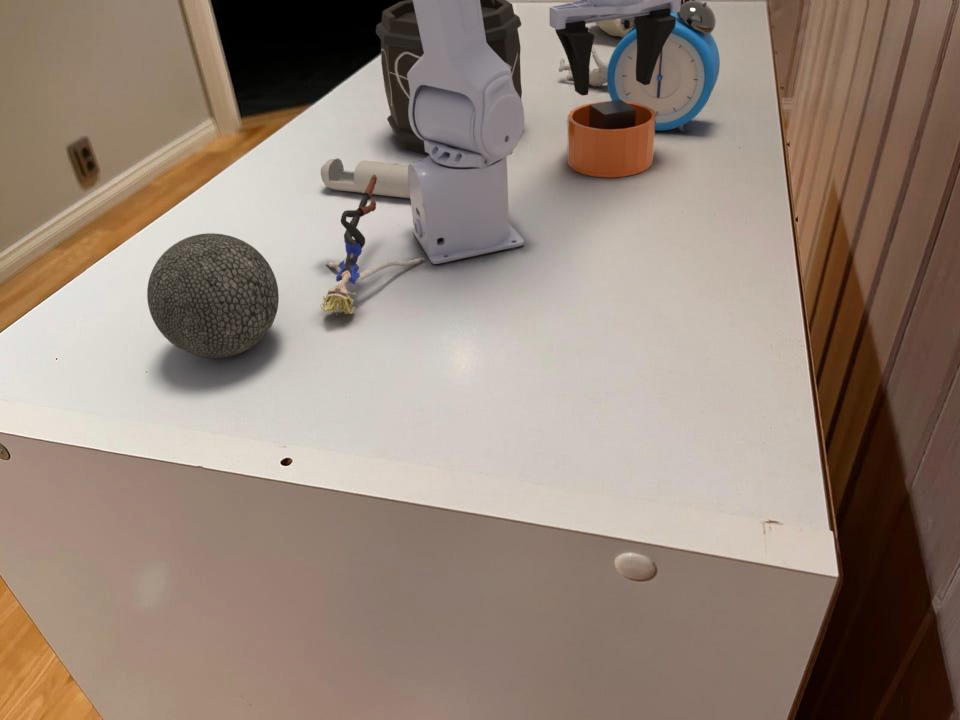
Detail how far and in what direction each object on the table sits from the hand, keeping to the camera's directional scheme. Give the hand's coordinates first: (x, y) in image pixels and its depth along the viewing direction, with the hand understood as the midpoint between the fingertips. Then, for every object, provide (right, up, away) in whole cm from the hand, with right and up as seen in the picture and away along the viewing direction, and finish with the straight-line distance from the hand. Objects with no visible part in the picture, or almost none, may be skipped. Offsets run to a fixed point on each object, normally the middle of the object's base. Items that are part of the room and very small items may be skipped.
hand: (612, 87), depth 88 cm
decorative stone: (+11, +28, +53) cm, 61 cm away
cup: (+1, -7, +5) cm, 9 cm away
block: (+1, -7, +5) cm, 8 cm away
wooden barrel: (-18, -1, +15) cm, 24 cm away
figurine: (-27, -24, -15) cm, 39 cm away
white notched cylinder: (-25, -12, +1) cm, 28 cm away
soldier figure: (+2, +10, +29) cm, 30 cm away
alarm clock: (+8, 0, +14) cm, 16 cm away
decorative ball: (-36, -30, -22) cm, 52 cm away
